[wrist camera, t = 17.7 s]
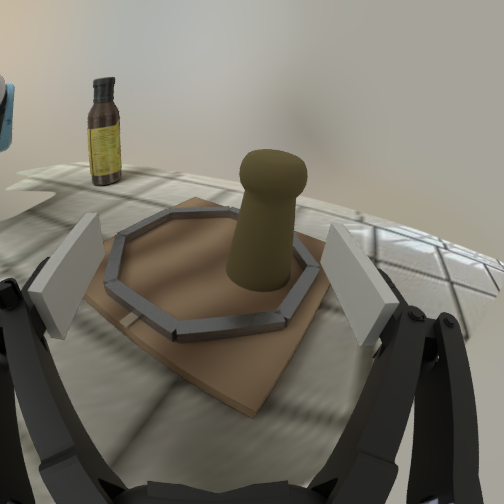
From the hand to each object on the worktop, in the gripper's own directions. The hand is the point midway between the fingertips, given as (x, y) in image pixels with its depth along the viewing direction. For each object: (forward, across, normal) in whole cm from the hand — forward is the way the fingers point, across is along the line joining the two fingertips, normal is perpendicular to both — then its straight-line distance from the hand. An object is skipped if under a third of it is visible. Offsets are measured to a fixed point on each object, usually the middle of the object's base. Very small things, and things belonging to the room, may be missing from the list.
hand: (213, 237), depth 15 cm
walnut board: (+9, 0, -9) cm, 13 cm away
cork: (+7, +4, -8) cm, 12 cm away
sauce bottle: (+35, -21, -9) cm, 42 cm away
